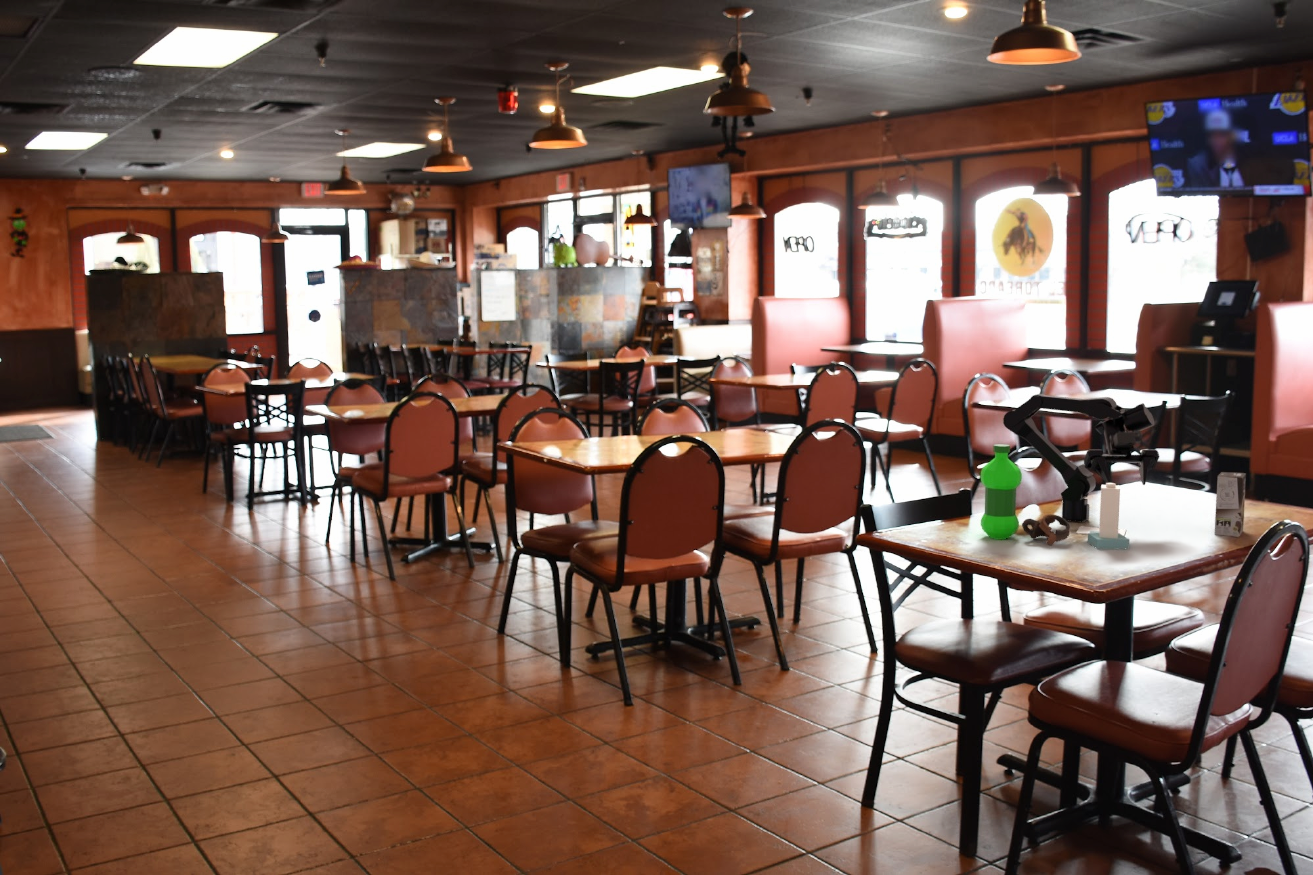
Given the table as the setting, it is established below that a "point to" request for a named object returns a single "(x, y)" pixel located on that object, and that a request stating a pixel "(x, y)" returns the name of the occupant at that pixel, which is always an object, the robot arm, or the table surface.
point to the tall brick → (1109, 510)
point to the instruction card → (1095, 530)
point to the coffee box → (1230, 504)
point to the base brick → (1108, 541)
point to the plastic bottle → (1000, 494)
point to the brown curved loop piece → (1047, 528)
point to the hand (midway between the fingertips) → (1126, 484)
